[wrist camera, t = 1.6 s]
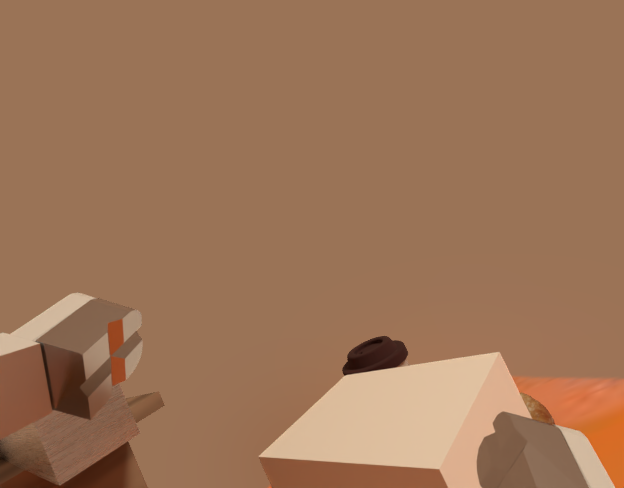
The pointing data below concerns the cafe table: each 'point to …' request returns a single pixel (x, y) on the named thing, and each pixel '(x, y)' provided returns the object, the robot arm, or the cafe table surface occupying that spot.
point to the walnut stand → (101, 475)
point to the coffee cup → (376, 356)
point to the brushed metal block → (70, 440)
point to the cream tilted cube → (397, 428)
